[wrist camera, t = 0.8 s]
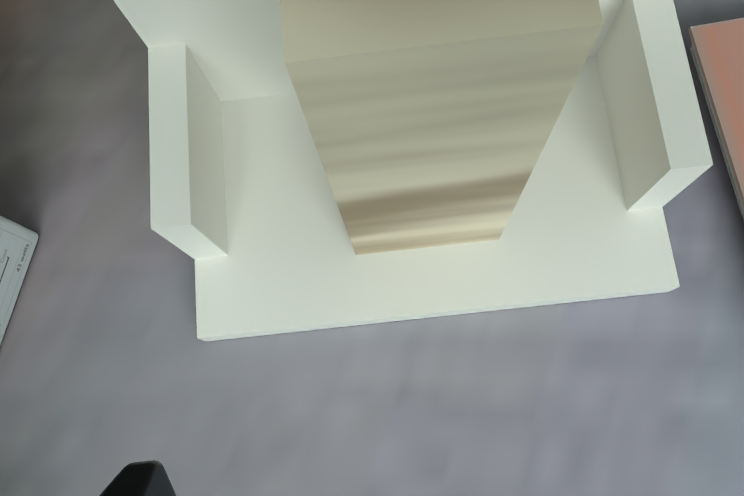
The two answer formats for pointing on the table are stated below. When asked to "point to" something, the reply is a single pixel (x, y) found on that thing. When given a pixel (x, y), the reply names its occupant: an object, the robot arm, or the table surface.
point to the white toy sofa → (421, 265)
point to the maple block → (432, 107)
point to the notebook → (724, 89)
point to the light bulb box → (13, 265)
